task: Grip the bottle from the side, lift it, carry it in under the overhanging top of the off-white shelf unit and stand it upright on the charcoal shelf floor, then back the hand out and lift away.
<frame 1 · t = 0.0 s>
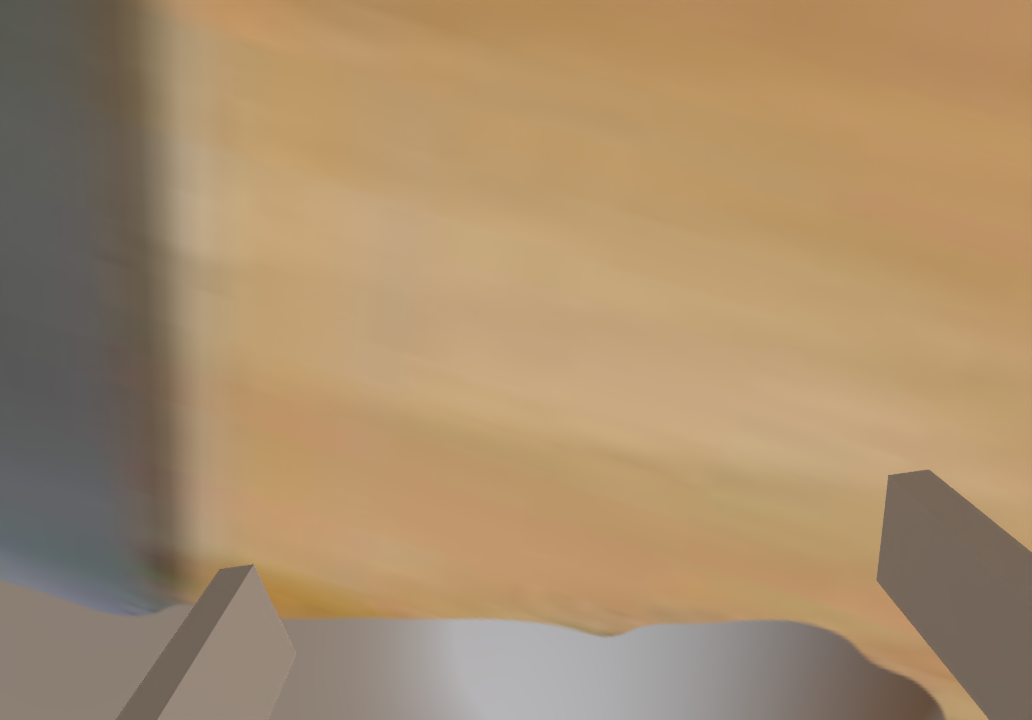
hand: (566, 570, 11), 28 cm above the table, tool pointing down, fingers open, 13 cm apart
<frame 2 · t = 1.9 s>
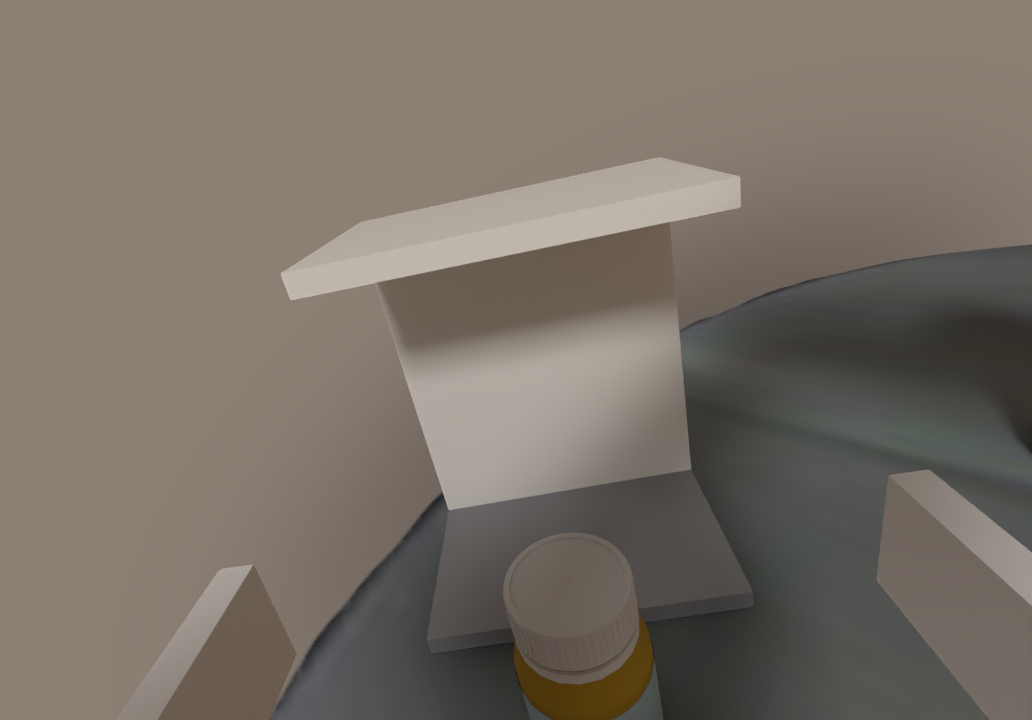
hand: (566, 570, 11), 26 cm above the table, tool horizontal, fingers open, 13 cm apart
shelf unit: (577, 550, 46), on the table
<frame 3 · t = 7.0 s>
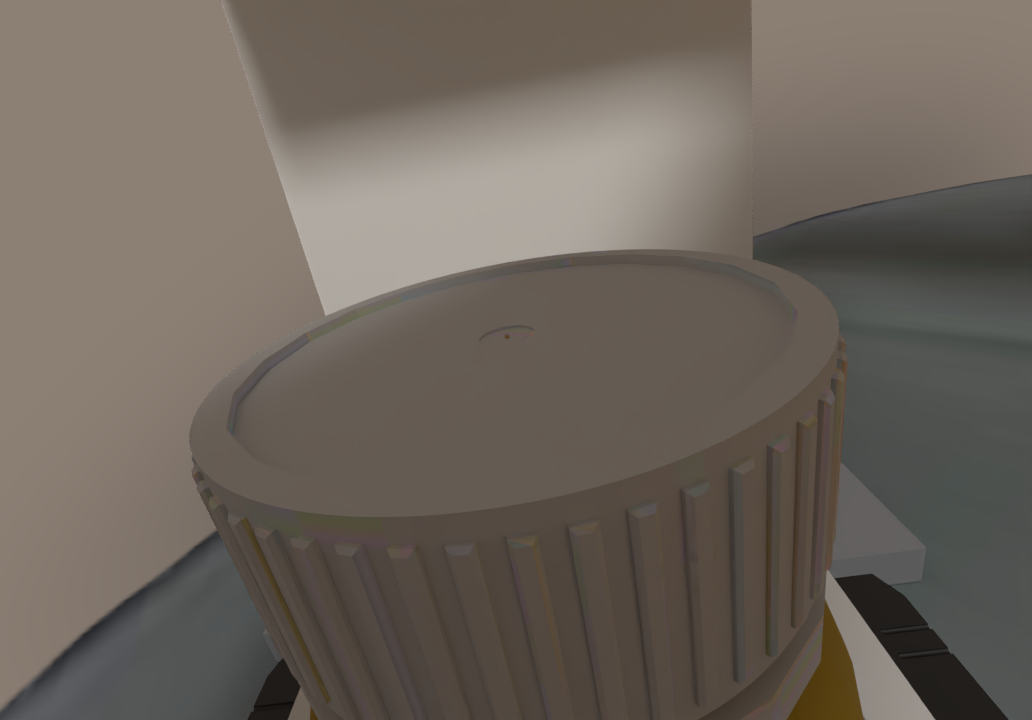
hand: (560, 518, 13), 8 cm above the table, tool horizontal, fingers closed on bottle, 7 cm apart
shelf unit: (566, 490, 27), on the table
when the fingers open (11 cm above the table, at t = 12.0 s): bottle drops 1 cm, resting on shelf unit.
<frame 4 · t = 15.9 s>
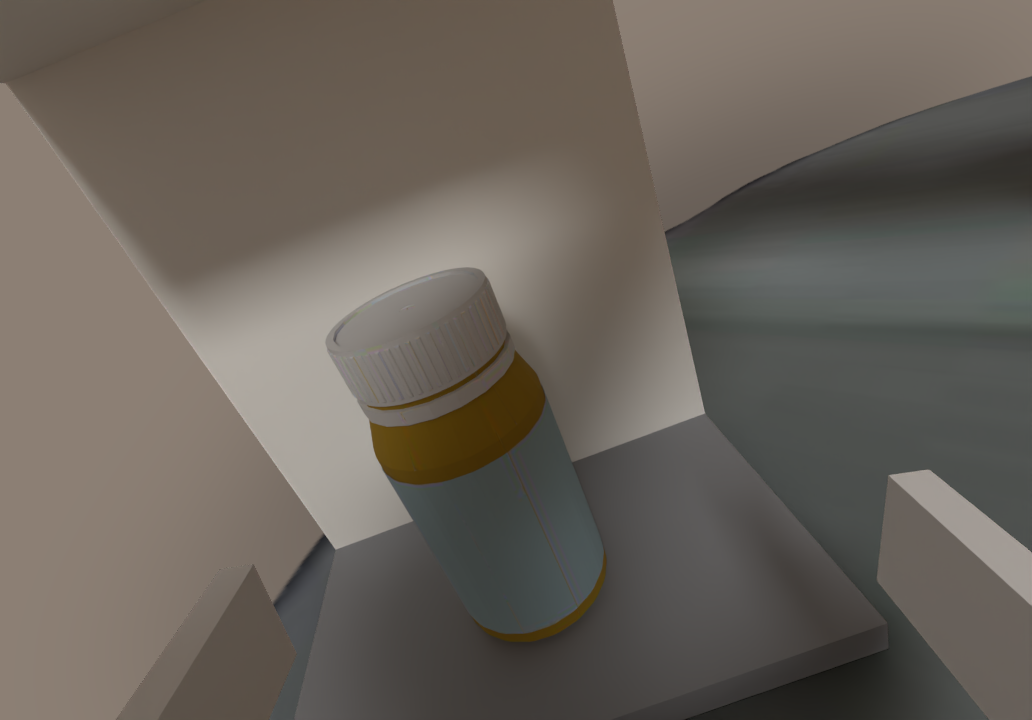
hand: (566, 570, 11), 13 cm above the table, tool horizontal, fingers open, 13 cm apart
bottle: (540, 583, 25), point 1 cm above the table, touching shelf unit
shelf unit: (543, 584, 27), on the table
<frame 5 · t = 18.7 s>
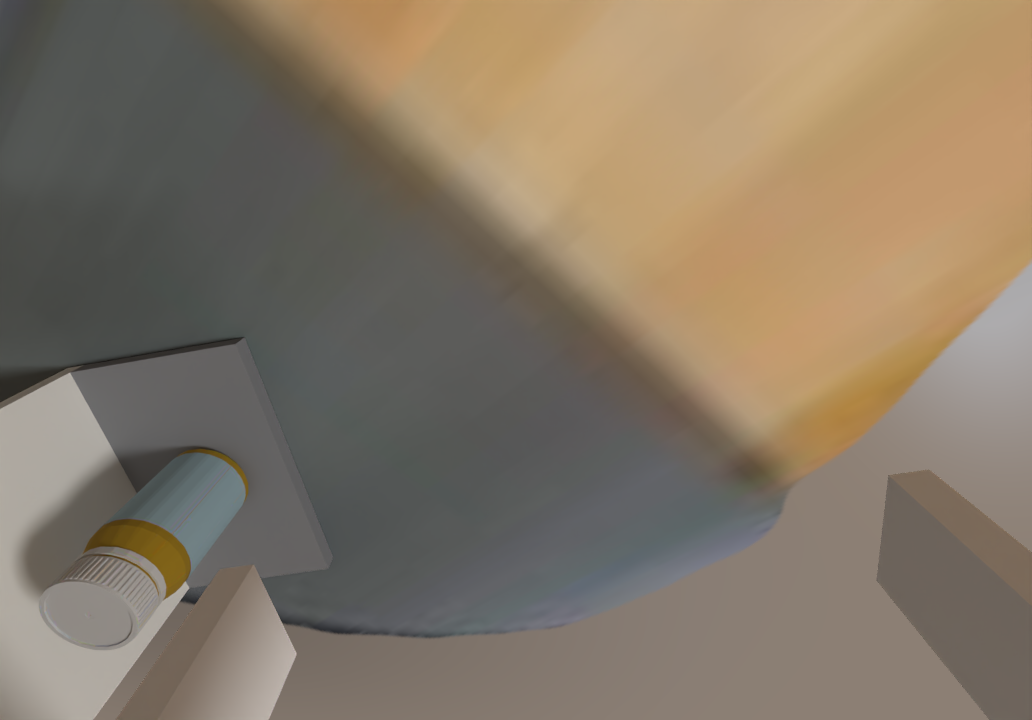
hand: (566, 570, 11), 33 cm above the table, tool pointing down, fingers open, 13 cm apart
bottle: (213, 476, 48), point 1 cm above the table, touching shelf unit
shelf unit: (211, 470, 49), on the table
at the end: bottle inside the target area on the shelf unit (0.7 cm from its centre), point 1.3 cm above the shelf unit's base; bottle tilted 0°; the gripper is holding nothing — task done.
